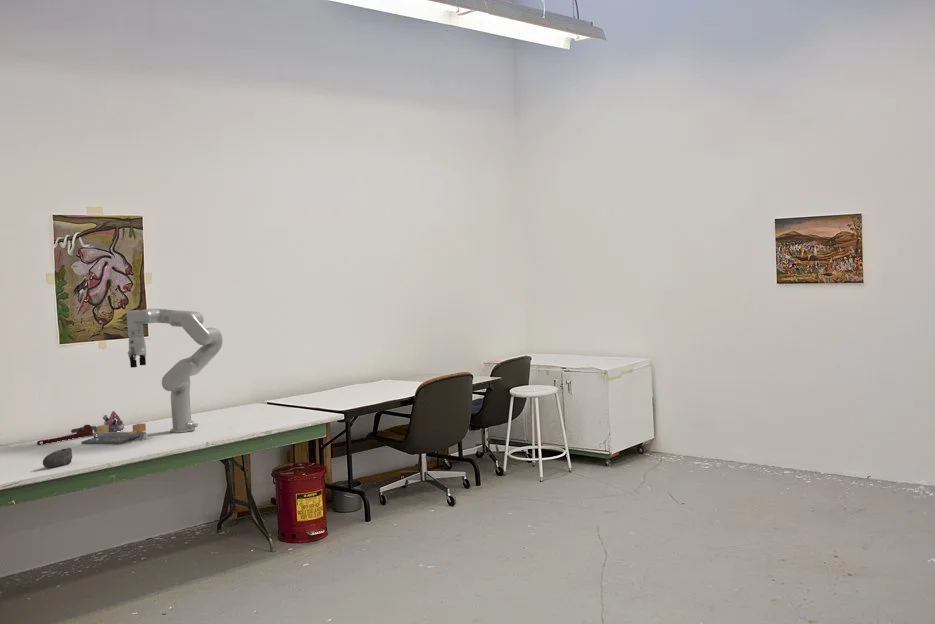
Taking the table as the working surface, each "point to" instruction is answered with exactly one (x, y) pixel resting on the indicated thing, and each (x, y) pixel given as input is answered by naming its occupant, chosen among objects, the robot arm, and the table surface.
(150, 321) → the robot arm
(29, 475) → the table surface
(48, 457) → the perforated stone tool
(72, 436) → the pipe wrench
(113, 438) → the bolt plate
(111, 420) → the red grey carburetor
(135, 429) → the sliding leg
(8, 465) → the table surface
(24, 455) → the table surface
